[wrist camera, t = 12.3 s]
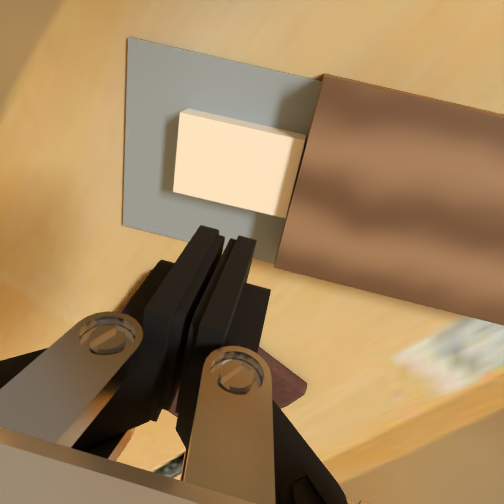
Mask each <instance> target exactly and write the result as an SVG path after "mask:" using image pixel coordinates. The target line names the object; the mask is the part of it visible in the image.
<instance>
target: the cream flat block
mask: <svg viewBox="0 0 504 504" xmlns="http://www.w3.org/2000/svg"><path fill="white" fill-rule="evenodd" d="M305 138H306V135H304V134H300V133H295V132H291V131H287V130H282V129H278V128H273V127H269V126H264V125H260V124H255V123H251V122H247V121H242V120H238V119H233V118H229V117H224V116H220V115H215V114H211V113H206V112H202V111H198V110H193V109H189V108H188V109H186V110H184V111H182V112H180V116H179V128H178V139H177V151H176V163H175V174H174V186H173V192H176V193H180V194H184V195H189V196H193V197H197V198H201V199H206V200H210V201H214V202H218V203H223V204H227V205H231V206H235V207H240V208H244V209H248V210H252V211H256V212H261V213H265V214H269V215H273V216H278V217H282V218H286V214H287V210H288V206H289V202H290V199H291V195H292V191H293V187H294V183H295V179H296V175H297V171H298V167H299V163H300V159H301V155H302V151H303V147H304V143H305Z"/></svg>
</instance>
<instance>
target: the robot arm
mask: <svg viewBox="0 0 504 504" xmlns="http://www.w3.org/2000/svg"><path fill="white" fill-rule="evenodd" d="M224 241H225V236H221V235H219V230H218V229H214V228H211V227H207V226H203V225H200V226H199V228H198V229H197V231H196V232H195V234H194V235H193V237H192V238H191V240H190V241H189V243H188V244H187V246H186V247H185V249H184V250H183V252H182V253H181V255H180V256H179V258H178V259H177V261H176V262H175V263H172V262H168V261H165V260H160V261H159V262H158V263H157V265H156V266H155V267H154V269H153V270H152V271H151V273H150V274H149V275H148V277H147V278H146V280H145V281H144V282H143V284H142V285H141V286H140V288H139V289H138V290H137V292H136V293H135V294H134V296H133V297H132V298H131V300H130V301H129V302H128V304H127V305H126V306H125V308H124V309H123V310H122V312H121V313H119V312H101V313H96V314H93V315H90V316H87V317H86V318H84V319H82V320H81V321H79V322H78V323H77V324H76V325H74V326H73V327H72V328H71V329H70V330H69V331H68V332H66V333H65V334H64V335H63V336H62V337H61V338H59V339H58V340H57V341H56V342H55V343H54V344H52V345H51V346H50V347H49V348H46V349H42V350H39V351H35V352H31V353H28V354H24V355H20V356H17V357H13V358H9V359H6V360H2V361H0V504H357V503H355V502H353V501H352V500H350V499H348V498H346V496H345V494H344V492H343V491H342V489H341V487H340V486H339V484H338V483H337V481H336V480H335V479H334V477H333V476H332V475H331V474H330V472H329V471H328V470H327V468H326V467H325V466H324V465H323V463H322V462H321V461H320V459H319V458H318V457H317V456H316V454H315V453H314V452H313V450H312V449H311V448H310V447H309V445H308V444H307V443H306V441H305V440H304V439H303V438H302V436H301V435H300V434H299V432H298V431H297V430H296V429H295V427H294V426H293V425H292V423H291V422H290V421H289V419H288V418H287V417H286V416H285V414H284V413H283V412H282V410H281V409H280V408H279V407H278V405H277V404H276V403H275V401H274V400H273V399H272V377H271V372H270V368H269V367H268V365H267V363H266V362H265V360H264V359H263V358H262V357H260V356H259V355H258V354H257V352H258V348H259V343H260V338H261V334H262V329H263V324H264V320H265V315H266V310H267V306H268V301H269V296H270V291H271V290H270V289H266V288H263V287H259V286H255V285H252V284H248V283H246V282H247V278H248V274H249V270H250V266H251V262H252V258H253V254H254V250H255V246H256V242H257V240H255V239H251V238H247V237H244V236H240V235H239V236H238V238H237V240H236V239H232V238H230V240H229V242H228V244H227V246H226V248H225V250H224V252H223V254H222V251H223V246H224ZM178 389H179V392H178V398H177V404H176V410H175V413H178V419H177V424H176V431H177V432H178V434H179V436H180V438H181V440H182V442H183V444H184V446H185V447H186V451H185V456H184V462H183V468H182V473H181V479H180V480H176V479H173V478H170V477H166V476H163V475H160V474H156V473H153V472H150V471H146V470H143V469H140V468H136V467H133V466H130V465H126V464H123V463H120V462H116V460H117V458H118V457H119V456H120V454H121V453H122V451H123V450H124V448H125V447H126V445H127V444H128V442H129V441H130V439H131V437H132V435H133V433H134V430H135V427H137V426H139V425H142V424H144V423H146V422H149V421H150V420H152V421H155V422H156V421H157V419H158V417H159V415H160V412H161V410H162V409H165V410H168V411H169V410H170V408H171V406H172V403H173V401H174V399H175V396H176V394H177V391H178ZM358 504H368V503H367V502H365V501H363V500H361V501H360V502H359V503H358Z"/></svg>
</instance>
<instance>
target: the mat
mask: <svg viewBox="0 0 504 504" xmlns="http://www.w3.org/2000/svg"><path fill="white" fill-rule="evenodd" d="M321 84H322V81H319V80H315V79H310V78H306V77H302V76H297V75H293V74H289V73H284V72H280V71H275V70H271V69H267V68H262V67H258V66H254V65H249V64H245V63H241V62H236V61H232V60H228V59H223V58H219V57H215V56H210V55H206V54H202V53H197V52H193V51H189V50H184V49H180V48H175V47H171V46H167V45H162V44H158V43H154V42H149V41H145V40H141V39H136V38H132V37H128V57H127V92H126V128H125V163H124V198H123V225H124V226H128V227H132V228H136V229H140V230H144V231H148V232H152V233H156V234H160V235H164V236H168V237H172V238H176V239H180V240H184V241H188V242H189V241H190V240H191V238H192V237H193V235H194V234H195V232H196V231H197V229H198V228H199V226H200V225H203V226H207V227H211V228H214V229H218V230H219V235H221V236H225V241H224V246H223V251H224V250H225V248H226V246H227V244H228V242H229V240H230V238H232V239H236V240H237V238H238V236H239V235H240V236H244V237H247V238H251V239H255V240H257V242H256V246H255V250H254V254H253V258H255V259H259V260H263V261H267V262H271V263H274V262H275V258H276V254H277V250H278V247H279V243H280V239H281V235H282V232H283V228H284V224H285V220H286V218H282V217H278V216H273V215H269V214H265V213H261V212H256V211H252V210H248V209H244V208H240V207H235V206H231V205H227V204H223V203H218V202H214V201H210V200H206V199H201V198H197V197H193V196H189V195H184V194H180V193H176V192H173V186H174V174H175V163H176V151H177V139H178V128H179V116H180V112H182V111H184V110H186V109H188V108H189V109H193V110H198V111H202V112H206V113H211V114H215V115H220V116H224V117H229V118H233V119H238V120H242V121H247V122H251V123H255V124H260V125H264V126H269V127H273V128H278V129H282V130H287V131H291V132H295V133H300V134H304V135H306V138H305V143H304V147H303V151H302V155H301V159H300V163H301V160H302V156H303V152H304V148H305V145H306V141H307V137H308V133H309V129H310V126H311V122H312V118H313V114H314V110H315V107H316V103H317V99H318V95H319V92H320V88H321ZM300 163H299V167H300ZM299 167H298V171H299ZM298 171H297V175H298ZM297 175H296V179H297ZM296 179H295V182H296ZM294 186H295V183H294ZM293 190H294V187H293ZM292 194H293V191H292ZM291 197H292V195H291ZM290 201H291V199H290ZM289 205H290V202H289ZM288 209H289V206H288ZM287 213H288V210H287ZM286 216H287V214H286Z"/></svg>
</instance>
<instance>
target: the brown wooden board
mask: <svg viewBox="0 0 504 504" xmlns="http://www.w3.org/2000/svg"><path fill="white" fill-rule="evenodd" d="M274 268H278V269H282V270H286V271H290V272H294V273H298V274H302V275H306V276H310V277H314V278H318V279H322V280H326V281H330V282H334V283H338V284H342V285H346V286H350V287H354V288H357V289H361V290H365V291H369V292H373V293H377V294H381V295H385V296H389V297H393V298H397V299H401V300H405V301H409V302H413V303H417V304H421V305H425V306H429V307H433V308H437V309H441V310H445V311H449V312H453V313H457V314H460V315H464V316H468V317H472V318H476V319H480V320H484V321H488V322H492V323H496V324H500V325H504V115H503V114H499V113H495V112H490V111H486V110H481V109H477V108H473V107H468V106H464V105H460V104H455V103H451V102H447V101H442V100H438V99H433V98H429V97H425V96H420V95H416V94H412V93H407V92H403V91H399V90H394V89H390V88H385V87H381V86H377V85H372V84H368V83H364V82H359V81H355V80H351V79H346V78H342V77H337V76H333V75H329V74H324V76H323V80H322V84H321V88H320V92H319V95H318V99H317V103H316V107H315V110H314V114H313V118H312V122H311V126H310V129H309V133H308V137H307V141H306V145H305V148H304V152H303V156H302V160H301V163H300V167H299V171H298V175H297V179H296V182H295V186H294V190H293V194H292V197H291V201H290V205H289V209H288V213H287V216H286V220H285V224H284V228H283V232H282V235H281V239H280V243H279V247H278V251H277V256H276V260H275V265H274Z"/></svg>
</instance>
